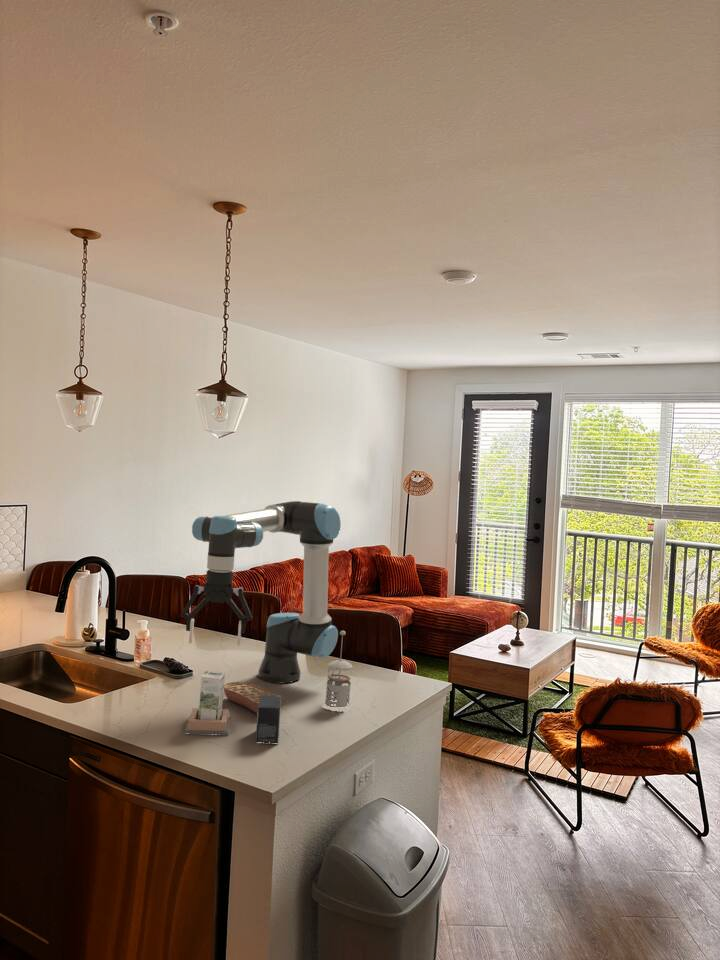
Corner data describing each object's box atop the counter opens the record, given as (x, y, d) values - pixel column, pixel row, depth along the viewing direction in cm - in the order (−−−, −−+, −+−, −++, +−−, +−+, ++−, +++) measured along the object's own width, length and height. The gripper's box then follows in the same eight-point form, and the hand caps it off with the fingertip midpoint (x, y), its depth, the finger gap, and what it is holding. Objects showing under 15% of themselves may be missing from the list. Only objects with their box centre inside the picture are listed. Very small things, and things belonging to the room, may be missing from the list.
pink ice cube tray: (217, 700, 232) (218, 684, 232) (242, 694, 239) (243, 680, 239) (260, 722, 216) (262, 705, 216) (286, 715, 223) (287, 699, 223)
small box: (256, 729, 209) (259, 693, 209) (279, 730, 210) (282, 695, 210) (254, 744, 199) (257, 706, 199) (278, 745, 199) (281, 707, 199)
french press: (329, 713, 228) (335, 635, 227) (314, 701, 238) (320, 626, 237) (357, 711, 232) (363, 633, 232) (341, 699, 242) (347, 625, 242)
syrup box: (221, 721, 211) (225, 671, 211) (217, 728, 205) (220, 677, 205) (202, 719, 211) (206, 670, 211) (197, 726, 205) (201, 676, 205)
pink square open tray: (230, 720, 215) (231, 708, 215) (228, 735, 203) (228, 723, 203) (189, 719, 213) (190, 707, 213) (184, 734, 202) (185, 721, 202)
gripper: (263, 570, 213) (258, 641, 213) (177, 565, 210) (172, 638, 210) (263, 574, 205) (258, 648, 206) (174, 569, 202) (168, 644, 203)
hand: (214, 643), depth 208 cm, fingers open, 13 cm apart
